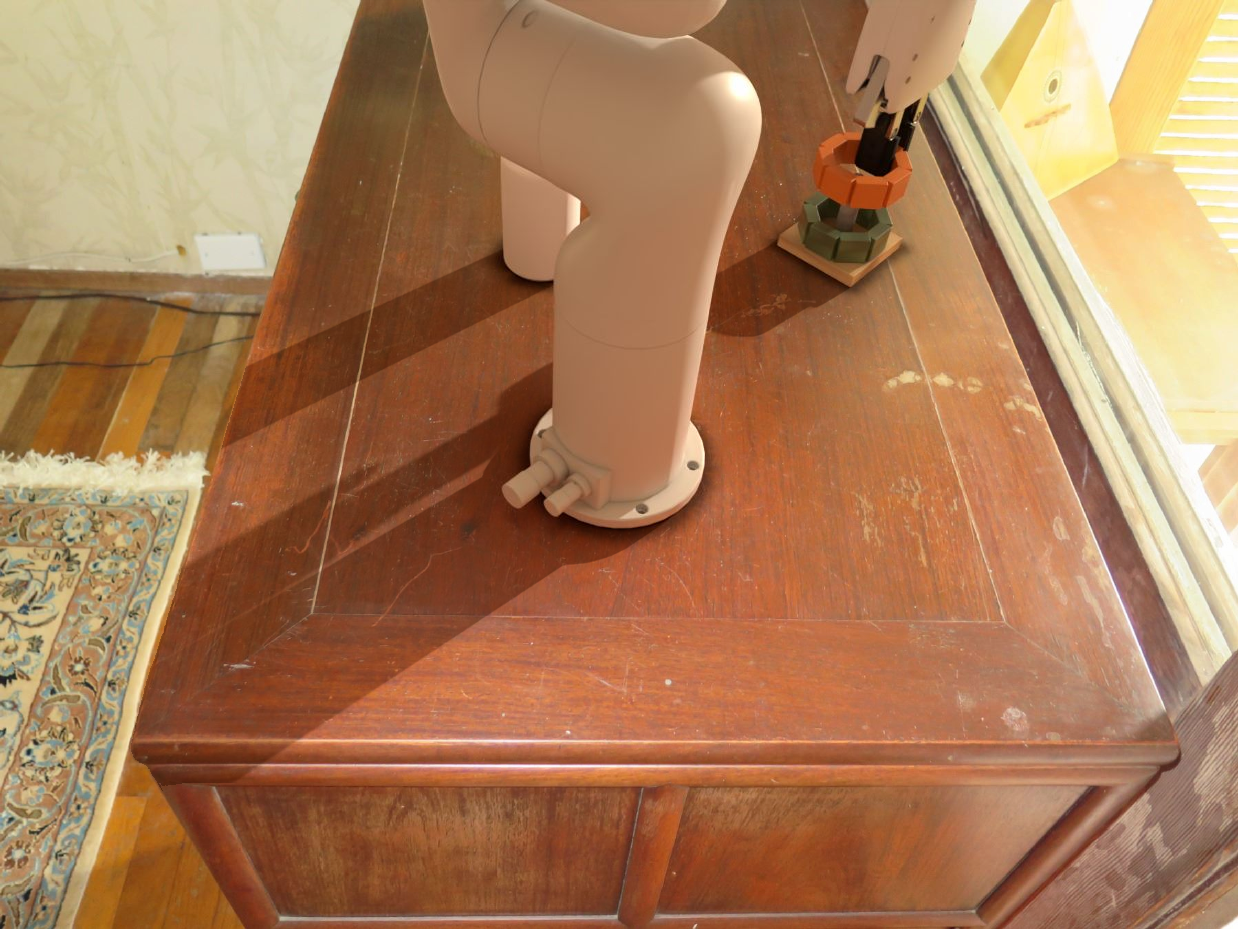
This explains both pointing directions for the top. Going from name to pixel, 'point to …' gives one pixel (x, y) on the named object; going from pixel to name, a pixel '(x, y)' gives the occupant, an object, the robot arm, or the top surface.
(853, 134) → the orange ring
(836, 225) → the ring stand
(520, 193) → the can
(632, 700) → the top surface
